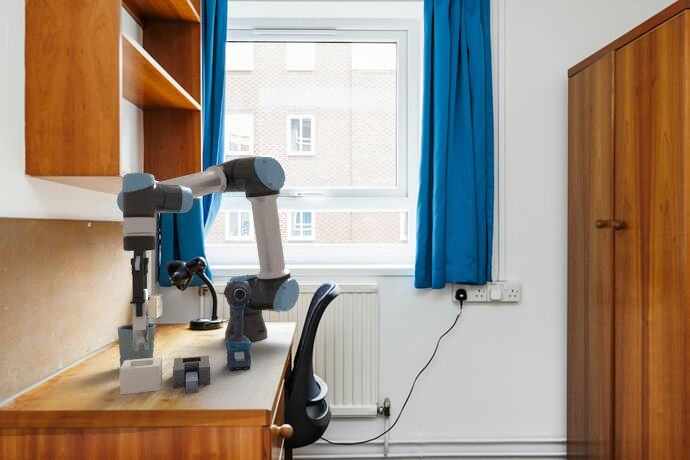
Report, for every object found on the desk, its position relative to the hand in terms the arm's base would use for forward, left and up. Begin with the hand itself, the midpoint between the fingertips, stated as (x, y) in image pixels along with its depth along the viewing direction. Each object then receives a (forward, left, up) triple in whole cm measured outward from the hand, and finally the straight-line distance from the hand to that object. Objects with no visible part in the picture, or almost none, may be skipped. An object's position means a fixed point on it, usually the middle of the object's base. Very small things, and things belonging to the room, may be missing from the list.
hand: (140, 327), depth 123 cm
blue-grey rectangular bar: (+5, +12, -15) cm, 20 cm away
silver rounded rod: (0, 0, -5) cm, 5 cm away
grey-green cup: (-20, -3, -15) cm, 25 cm away
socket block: (-2, +12, -15) cm, 19 cm away
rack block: (0, 0, -15) cm, 15 cm away
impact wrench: (-9, +25, -15) cm, 31 cm away
